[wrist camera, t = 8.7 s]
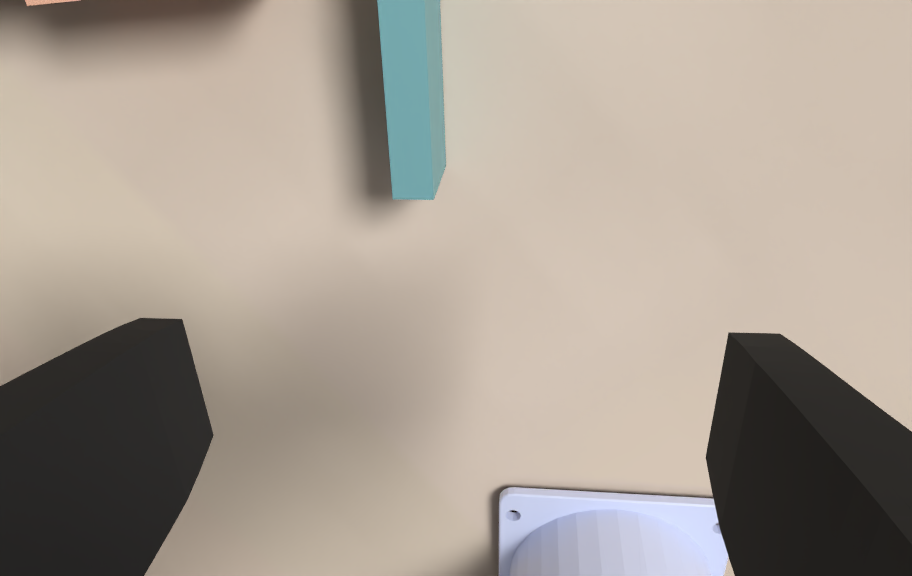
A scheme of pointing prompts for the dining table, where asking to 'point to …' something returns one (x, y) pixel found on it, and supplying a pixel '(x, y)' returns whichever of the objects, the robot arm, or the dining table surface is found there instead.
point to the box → (413, 95)
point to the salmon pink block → (45, 1)
